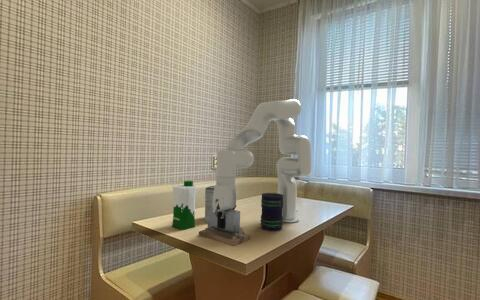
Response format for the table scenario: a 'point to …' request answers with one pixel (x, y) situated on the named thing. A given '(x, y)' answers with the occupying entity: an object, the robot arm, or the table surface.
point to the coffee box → (208, 201)
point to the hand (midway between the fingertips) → (224, 226)
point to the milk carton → (184, 205)
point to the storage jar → (271, 211)
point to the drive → (226, 221)
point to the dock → (224, 235)
